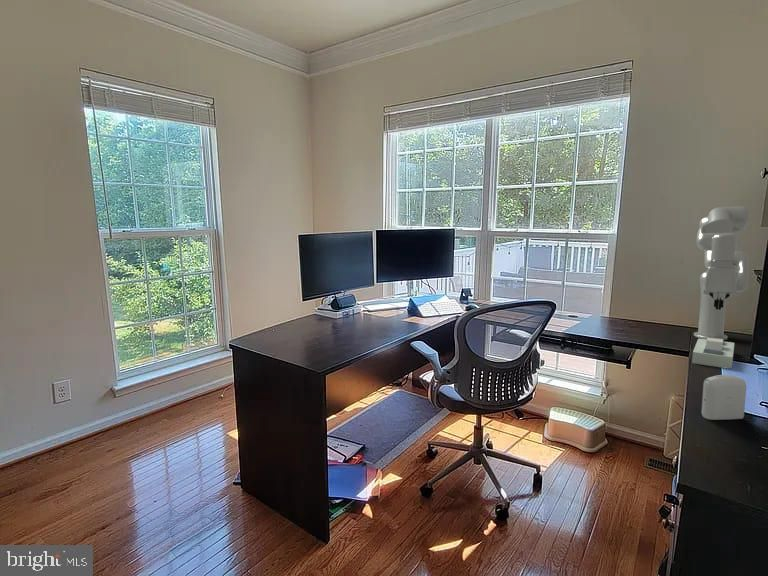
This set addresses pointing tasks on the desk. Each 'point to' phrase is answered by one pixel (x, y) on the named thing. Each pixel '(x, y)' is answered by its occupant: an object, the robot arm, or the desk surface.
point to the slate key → (713, 350)
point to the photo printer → (723, 397)
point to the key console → (713, 355)
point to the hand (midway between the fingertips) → (718, 308)
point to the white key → (714, 342)
